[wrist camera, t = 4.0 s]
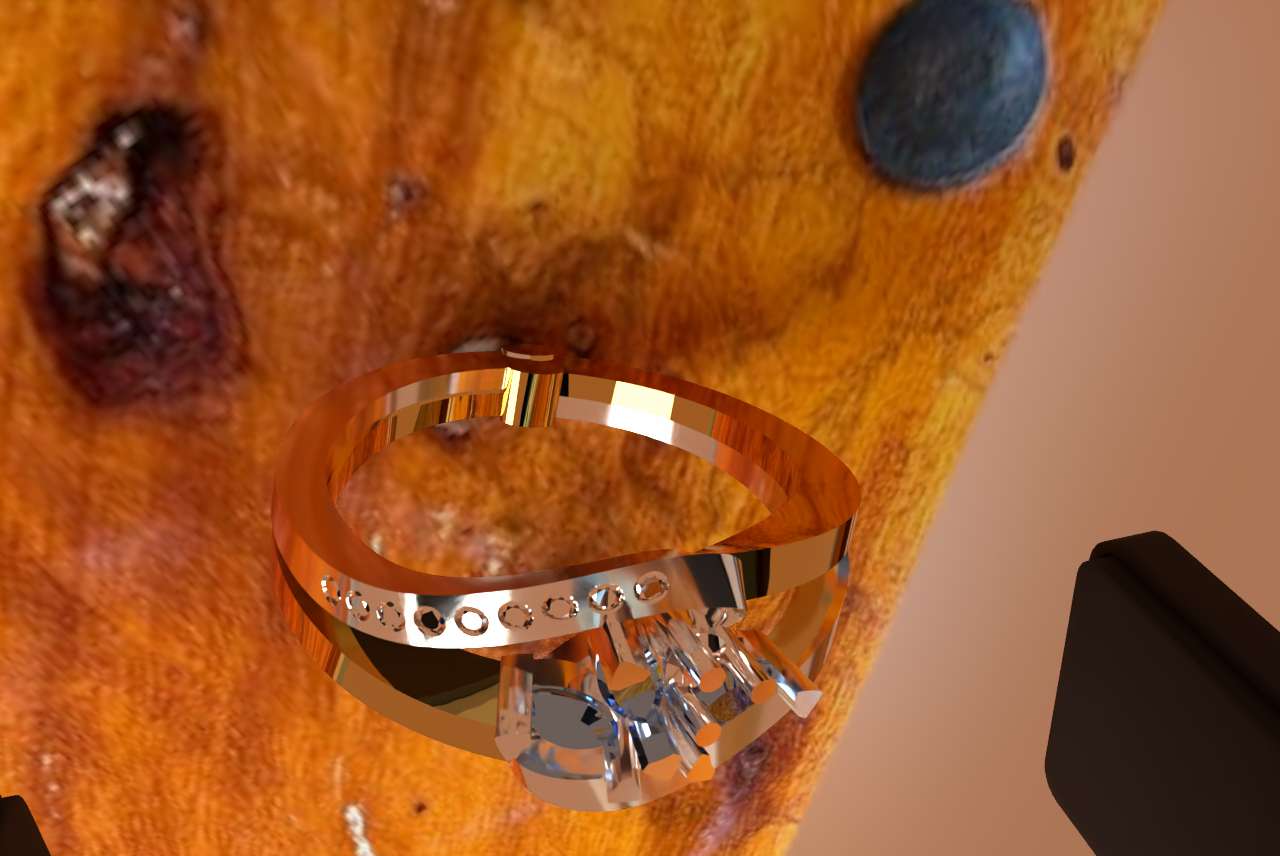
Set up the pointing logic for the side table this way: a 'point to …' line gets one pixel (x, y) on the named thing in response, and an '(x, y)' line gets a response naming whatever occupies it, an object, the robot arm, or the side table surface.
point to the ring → (569, 584)
